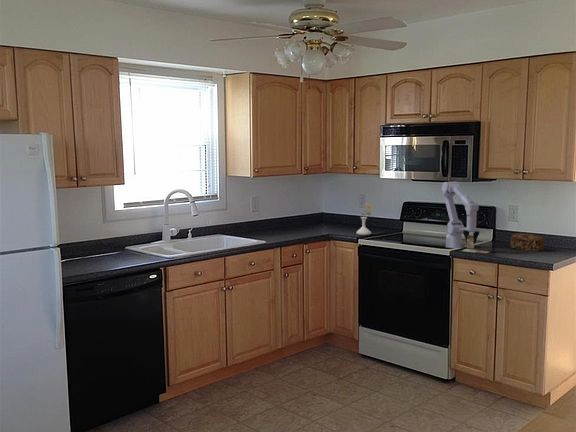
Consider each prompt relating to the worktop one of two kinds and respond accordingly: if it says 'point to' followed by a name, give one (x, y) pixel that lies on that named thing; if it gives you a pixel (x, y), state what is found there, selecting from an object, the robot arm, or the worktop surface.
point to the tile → (484, 251)
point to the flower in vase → (363, 229)
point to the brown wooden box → (470, 241)
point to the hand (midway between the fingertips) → (470, 243)
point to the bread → (527, 242)
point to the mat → (470, 250)
